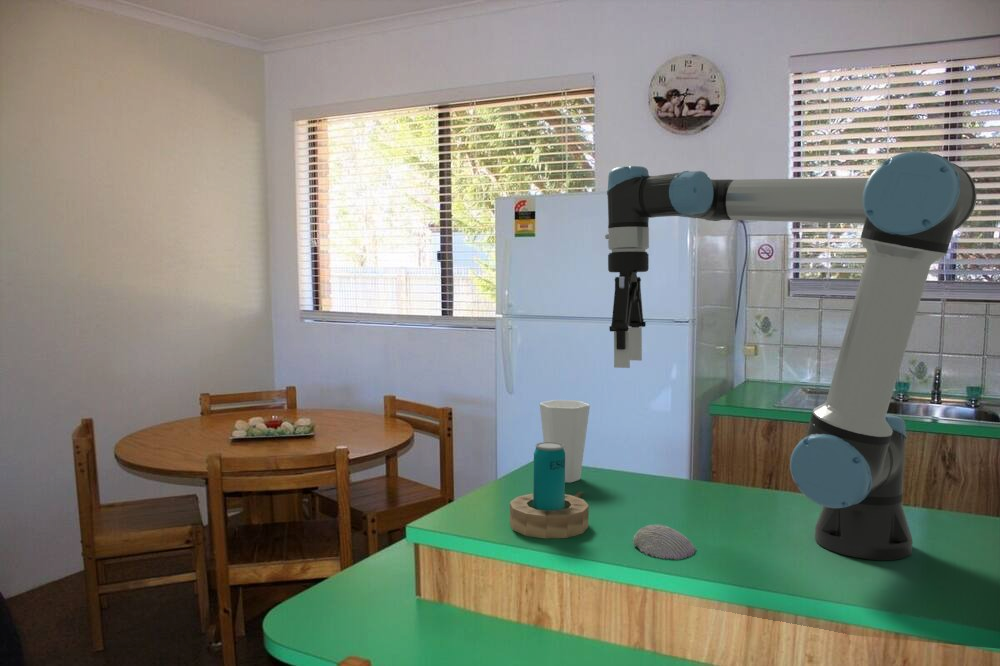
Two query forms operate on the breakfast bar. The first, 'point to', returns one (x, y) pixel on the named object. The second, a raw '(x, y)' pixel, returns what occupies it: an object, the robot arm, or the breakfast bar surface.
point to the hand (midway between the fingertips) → (628, 363)
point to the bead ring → (549, 518)
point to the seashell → (663, 542)
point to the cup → (566, 431)
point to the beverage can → (549, 477)
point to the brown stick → (578, 495)
